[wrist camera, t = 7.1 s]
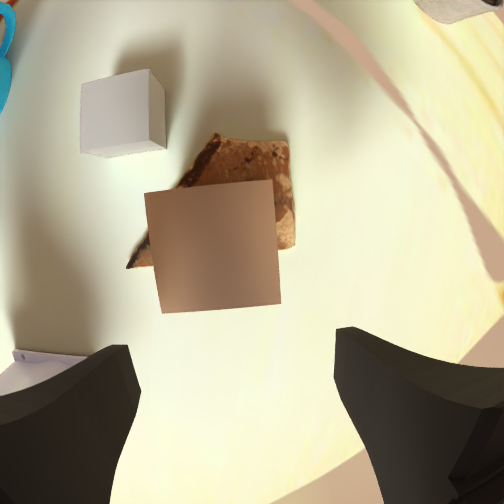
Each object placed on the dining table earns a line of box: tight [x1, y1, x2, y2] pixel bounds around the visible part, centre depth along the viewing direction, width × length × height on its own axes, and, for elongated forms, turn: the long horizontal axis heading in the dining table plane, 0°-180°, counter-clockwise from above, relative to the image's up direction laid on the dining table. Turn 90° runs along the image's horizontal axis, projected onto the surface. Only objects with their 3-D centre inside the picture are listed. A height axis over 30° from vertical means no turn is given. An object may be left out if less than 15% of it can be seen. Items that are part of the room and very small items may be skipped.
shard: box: [126, 133, 295, 269], centre depth 18 cm, size 11×8×2 cm
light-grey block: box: [80, 68, 167, 158], centre depth 15 cm, size 4×4×4 cm
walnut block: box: [144, 180, 281, 313], centre depth 15 cm, size 5×5×6 cm
